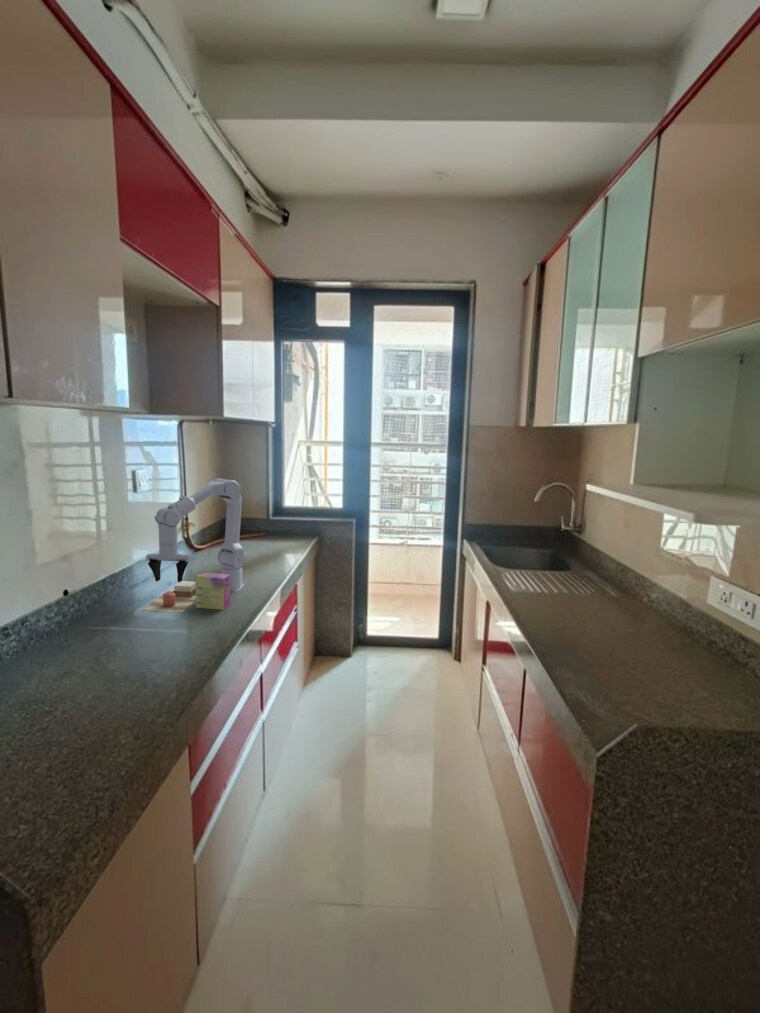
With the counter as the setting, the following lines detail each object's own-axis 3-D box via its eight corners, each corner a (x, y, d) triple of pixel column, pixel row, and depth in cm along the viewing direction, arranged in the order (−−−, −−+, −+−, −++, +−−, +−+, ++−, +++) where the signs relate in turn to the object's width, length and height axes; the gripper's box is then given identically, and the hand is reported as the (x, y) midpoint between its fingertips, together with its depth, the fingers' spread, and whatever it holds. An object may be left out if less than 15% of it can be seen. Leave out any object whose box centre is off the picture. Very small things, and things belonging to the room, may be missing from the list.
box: (230, 605, 170) (230, 573, 168) (223, 611, 164) (223, 578, 162) (203, 603, 170) (202, 571, 169) (195, 609, 165) (195, 576, 163)
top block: (181, 586, 180) (181, 580, 180) (196, 586, 180) (196, 581, 180) (174, 591, 174) (174, 585, 174) (190, 591, 174) (190, 586, 174)
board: (171, 589, 184) (171, 588, 183) (207, 591, 184) (207, 589, 184) (140, 612, 160) (140, 610, 160) (182, 613, 160) (182, 612, 160)
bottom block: (180, 590, 181) (180, 585, 181) (198, 591, 181) (198, 586, 181) (172, 596, 174) (172, 591, 174) (191, 597, 174) (191, 592, 174)
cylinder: (166, 602, 168) (165, 592, 167) (177, 603, 168) (177, 592, 167) (161, 606, 164) (160, 595, 163) (172, 607, 164) (172, 596, 163)
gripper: (141, 544, 158) (142, 583, 160) (184, 546, 159) (185, 585, 161) (151, 540, 165) (152, 577, 167) (192, 541, 166) (193, 579, 168)
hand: (169, 580), depth 164 cm, fingers open, 7 cm apart
